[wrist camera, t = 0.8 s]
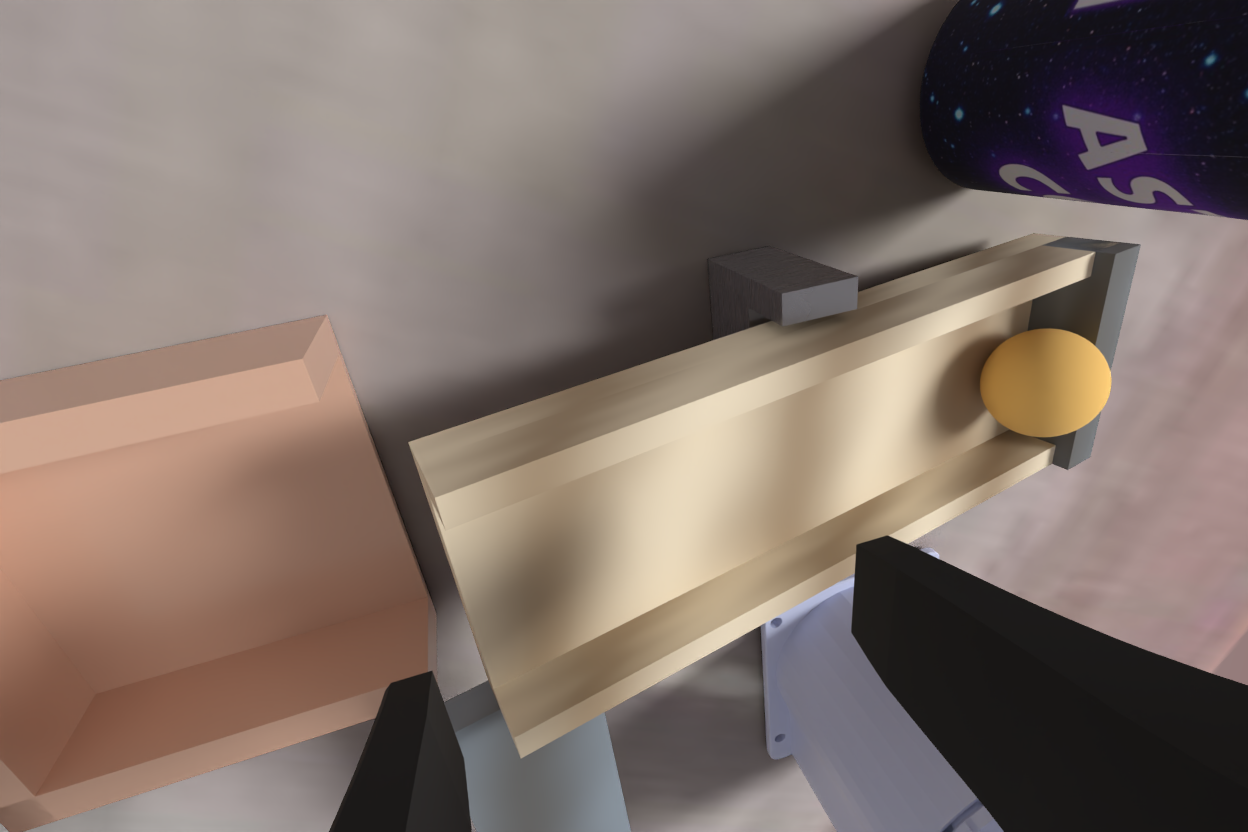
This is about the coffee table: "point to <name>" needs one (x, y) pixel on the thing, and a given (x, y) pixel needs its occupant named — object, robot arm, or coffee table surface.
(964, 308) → the lever
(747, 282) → the fulcrum
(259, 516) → the tray
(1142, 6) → the beverage can
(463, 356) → the coffee table surface
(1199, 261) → the coffee table surface
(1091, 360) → the ball
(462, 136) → the coffee table surface
